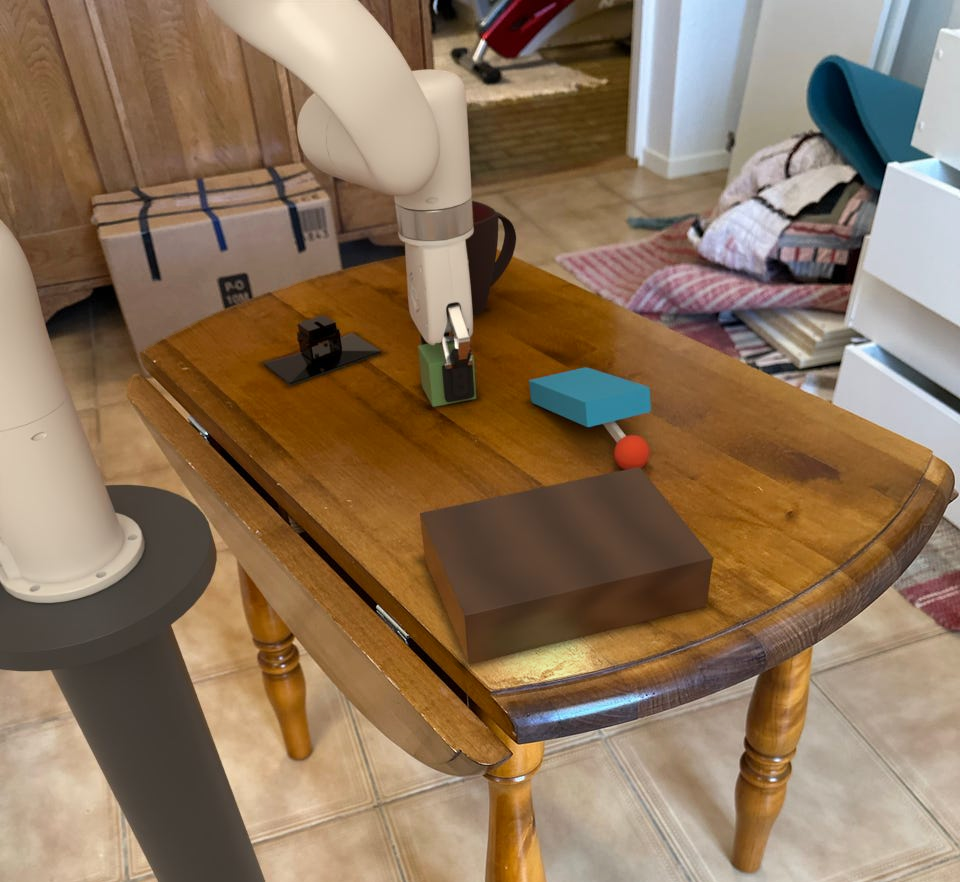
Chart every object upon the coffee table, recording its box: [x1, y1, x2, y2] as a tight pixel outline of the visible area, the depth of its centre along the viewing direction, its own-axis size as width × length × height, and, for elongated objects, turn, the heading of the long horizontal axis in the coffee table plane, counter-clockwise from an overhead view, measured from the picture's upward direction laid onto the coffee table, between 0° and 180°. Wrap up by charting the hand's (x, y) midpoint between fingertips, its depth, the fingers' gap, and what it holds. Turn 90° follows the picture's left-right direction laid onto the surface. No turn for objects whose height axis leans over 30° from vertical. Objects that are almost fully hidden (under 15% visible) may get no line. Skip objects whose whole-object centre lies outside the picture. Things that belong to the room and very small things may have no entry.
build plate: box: [263, 314, 382, 386], centre depth 110 cm, size 12×7×5 cm, turn 126°
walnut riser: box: [419, 467, 714, 665], centre depth 76 cm, size 20×14×5 cm
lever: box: [528, 366, 652, 470], centre depth 95 cm, size 7×7×18 cm
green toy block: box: [417, 343, 477, 408], centre depth 102 cm, size 5×5×5 cm
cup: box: [465, 200, 517, 317], centre depth 117 cm, size 10×14×12 cm
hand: (448, 379), depth 103 cm, fingers open, 9 cm apart
